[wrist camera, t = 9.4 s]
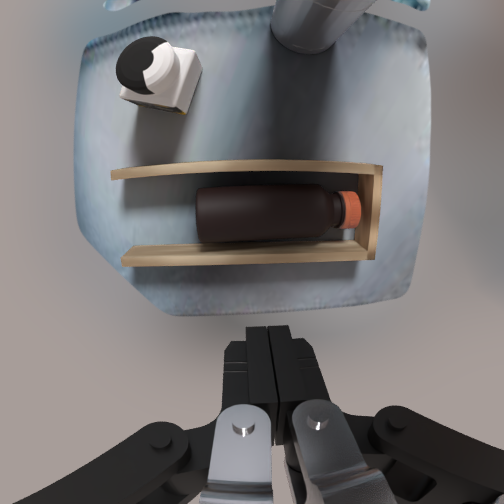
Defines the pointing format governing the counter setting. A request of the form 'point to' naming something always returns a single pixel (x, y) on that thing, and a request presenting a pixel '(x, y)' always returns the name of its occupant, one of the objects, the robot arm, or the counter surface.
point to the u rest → (266, 251)
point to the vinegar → (272, 212)
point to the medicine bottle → (158, 75)
